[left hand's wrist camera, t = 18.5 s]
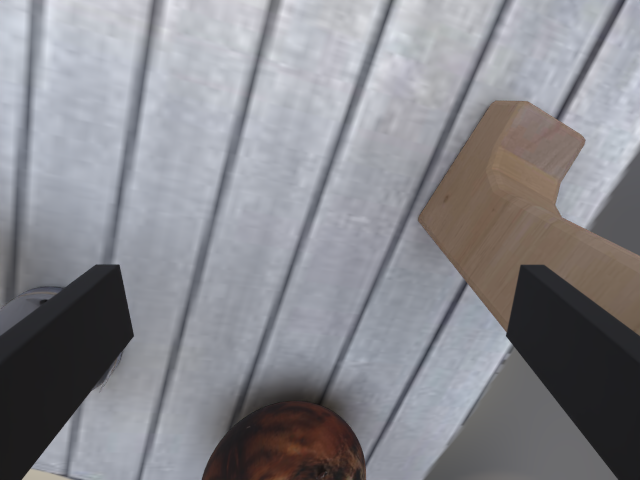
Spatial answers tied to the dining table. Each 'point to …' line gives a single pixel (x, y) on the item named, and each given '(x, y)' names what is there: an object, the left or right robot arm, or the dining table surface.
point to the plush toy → (288, 446)
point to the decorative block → (524, 216)
